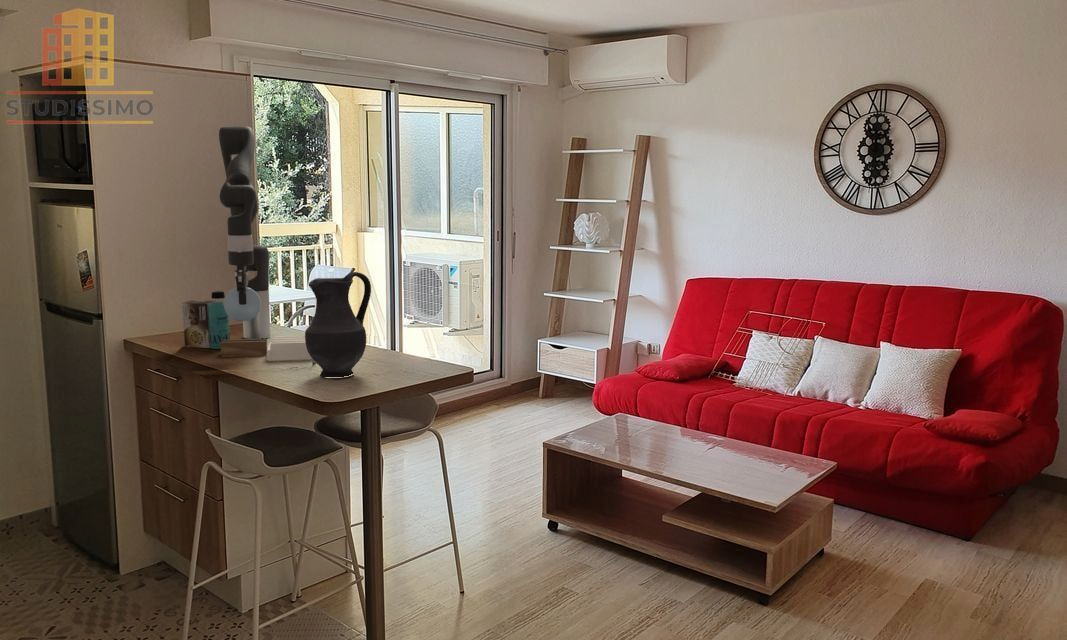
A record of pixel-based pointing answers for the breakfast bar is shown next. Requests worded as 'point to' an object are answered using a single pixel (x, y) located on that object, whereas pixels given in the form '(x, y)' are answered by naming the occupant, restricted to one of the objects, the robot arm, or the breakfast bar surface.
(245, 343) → the stand
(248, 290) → the plate
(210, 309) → the beverage bottle
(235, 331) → the breakfast bar surface
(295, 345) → the rack
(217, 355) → the breakfast bar surface
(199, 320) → the coffee box
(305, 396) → the breakfast bar surface
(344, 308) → the pitcher
